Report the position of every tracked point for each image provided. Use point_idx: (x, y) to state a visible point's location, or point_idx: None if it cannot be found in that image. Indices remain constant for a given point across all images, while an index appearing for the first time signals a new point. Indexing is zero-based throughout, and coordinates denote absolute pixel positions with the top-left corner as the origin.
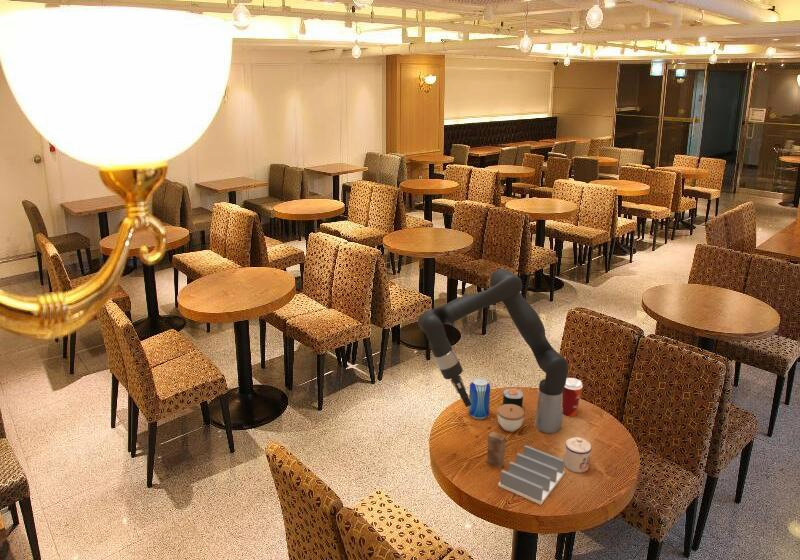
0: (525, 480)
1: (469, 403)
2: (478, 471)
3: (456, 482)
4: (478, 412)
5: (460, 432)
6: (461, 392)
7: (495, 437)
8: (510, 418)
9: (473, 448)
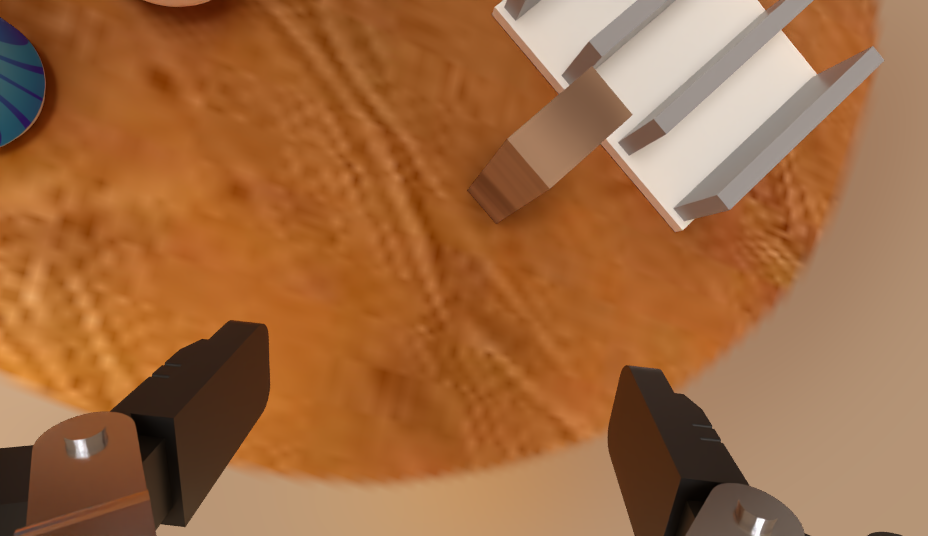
0: (816, 110)
1: (699, 415)
2: (554, 291)
3: None
4: (10, 96)
5: (169, 278)
6: (226, 427)
7: (587, 146)
8: None
9: (353, 252)
